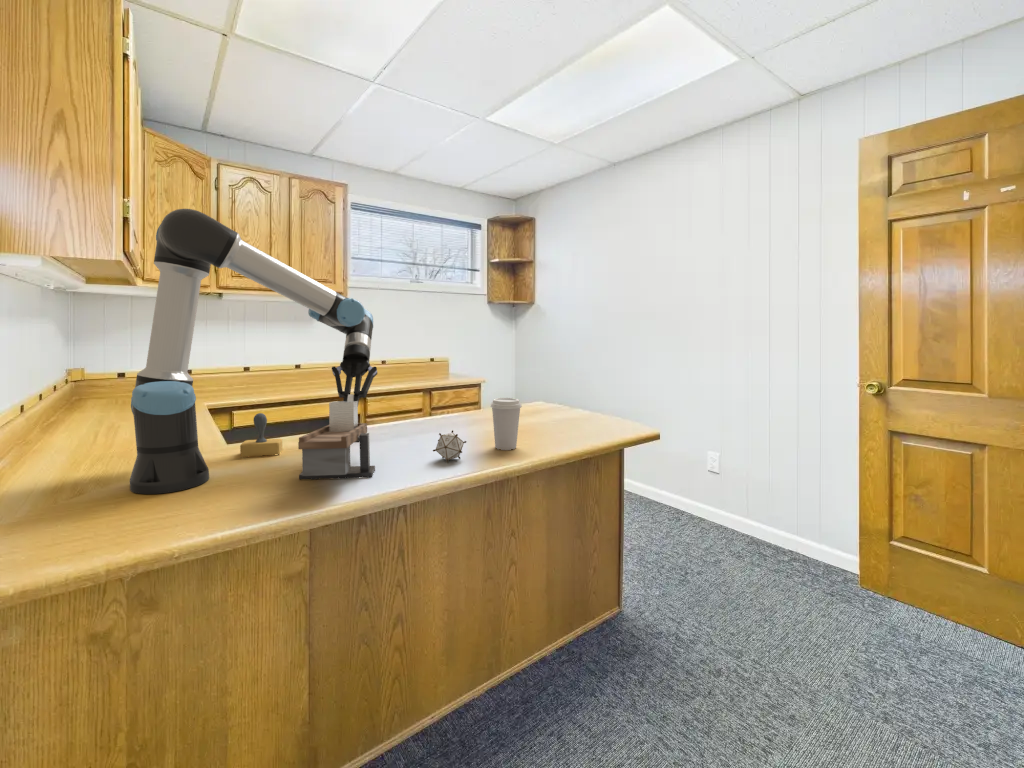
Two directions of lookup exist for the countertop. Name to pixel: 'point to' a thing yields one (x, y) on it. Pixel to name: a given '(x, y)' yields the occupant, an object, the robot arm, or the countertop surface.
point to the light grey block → (343, 416)
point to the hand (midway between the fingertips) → (349, 416)
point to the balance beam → (328, 450)
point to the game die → (449, 446)
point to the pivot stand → (354, 471)
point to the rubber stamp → (260, 441)
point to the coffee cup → (506, 422)
